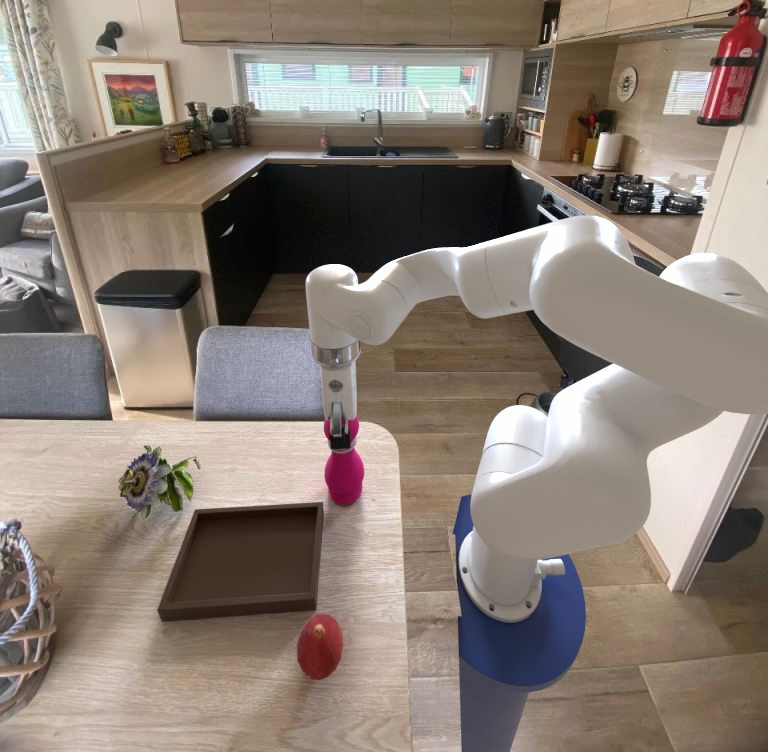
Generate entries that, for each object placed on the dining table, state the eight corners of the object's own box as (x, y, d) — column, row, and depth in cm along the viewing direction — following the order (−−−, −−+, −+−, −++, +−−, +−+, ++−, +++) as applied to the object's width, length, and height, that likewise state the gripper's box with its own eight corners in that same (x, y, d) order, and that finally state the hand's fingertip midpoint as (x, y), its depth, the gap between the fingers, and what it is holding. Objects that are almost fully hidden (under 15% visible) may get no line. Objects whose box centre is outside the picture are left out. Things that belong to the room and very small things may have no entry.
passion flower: (147, 529, 71) (97, 488, 68) (193, 471, 79) (150, 432, 76) (171, 536, 64) (116, 491, 61) (218, 472, 72) (172, 429, 69)
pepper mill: (364, 508, 69) (361, 424, 61) (323, 508, 69) (315, 425, 61) (365, 470, 75) (362, 390, 68) (328, 470, 75) (321, 391, 68)
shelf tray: (323, 512, 68) (323, 501, 67) (316, 610, 56) (315, 598, 55) (198, 520, 67) (194, 509, 66) (161, 622, 54) (156, 610, 53)
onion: (292, 687, 49) (286, 654, 46) (307, 627, 54) (302, 595, 51) (337, 696, 48) (335, 664, 45) (348, 635, 53) (346, 602, 50)
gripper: (360, 383, 52) (364, 476, 59) (360, 311, 68) (363, 391, 74) (304, 386, 51) (314, 479, 58) (316, 313, 67) (323, 393, 74)
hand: (341, 429), depth 66 cm, fingers closed on pepper mill, 6 cm apart
